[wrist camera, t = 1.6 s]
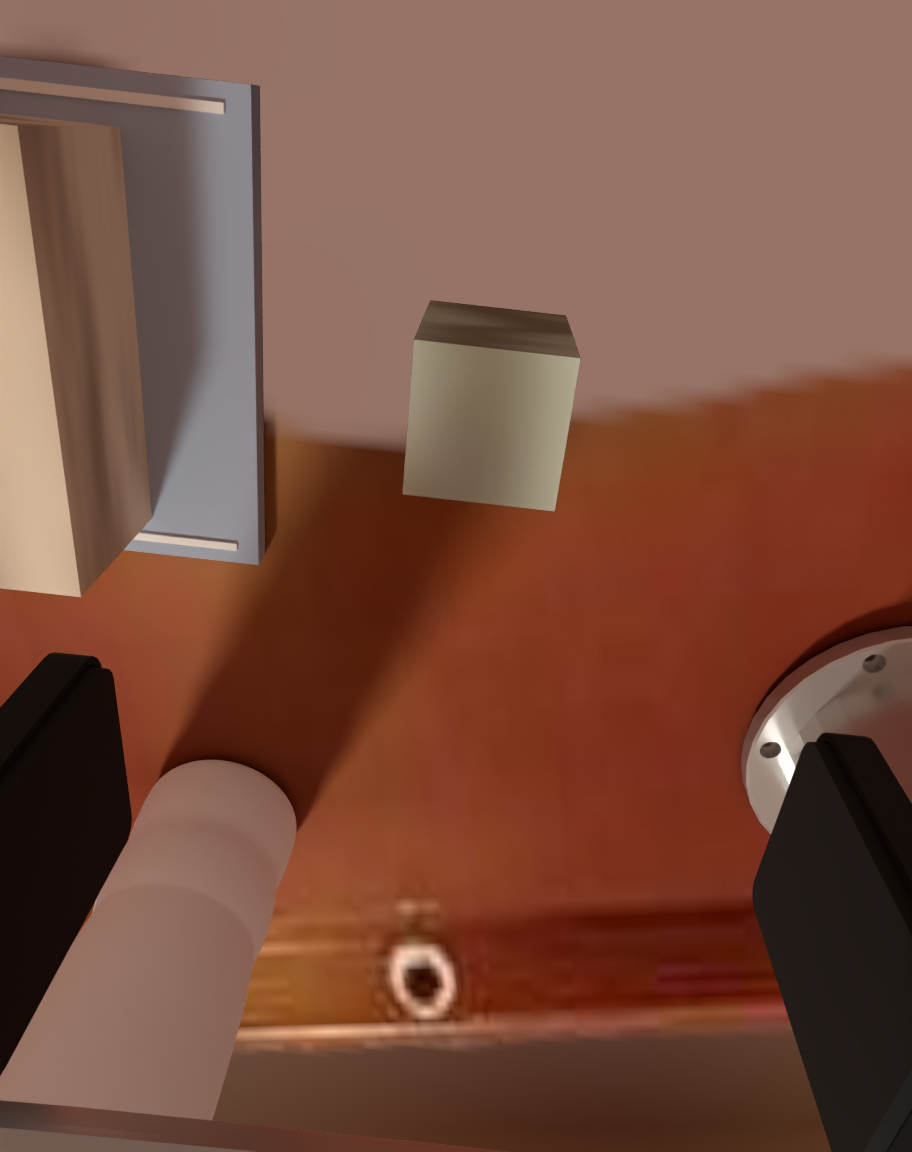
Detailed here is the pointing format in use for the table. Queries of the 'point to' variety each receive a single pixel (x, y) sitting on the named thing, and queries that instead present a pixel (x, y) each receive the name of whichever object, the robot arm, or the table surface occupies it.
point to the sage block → (490, 405)
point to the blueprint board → (183, 287)
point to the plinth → (67, 358)
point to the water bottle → (163, 953)
